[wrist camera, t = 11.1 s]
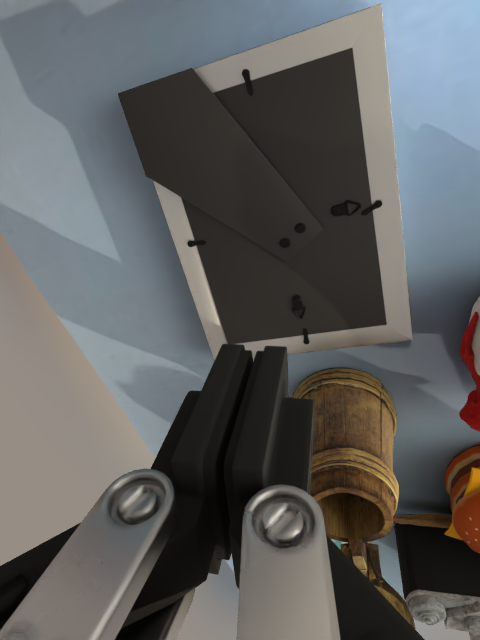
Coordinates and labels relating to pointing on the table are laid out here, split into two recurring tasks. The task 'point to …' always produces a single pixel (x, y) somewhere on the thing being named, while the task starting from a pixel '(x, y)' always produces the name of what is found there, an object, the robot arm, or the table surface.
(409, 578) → the camera
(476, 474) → the hamburger
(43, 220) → the table surface
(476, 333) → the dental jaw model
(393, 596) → the wooden mug
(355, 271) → the picture frame
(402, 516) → the brown wooden stick
